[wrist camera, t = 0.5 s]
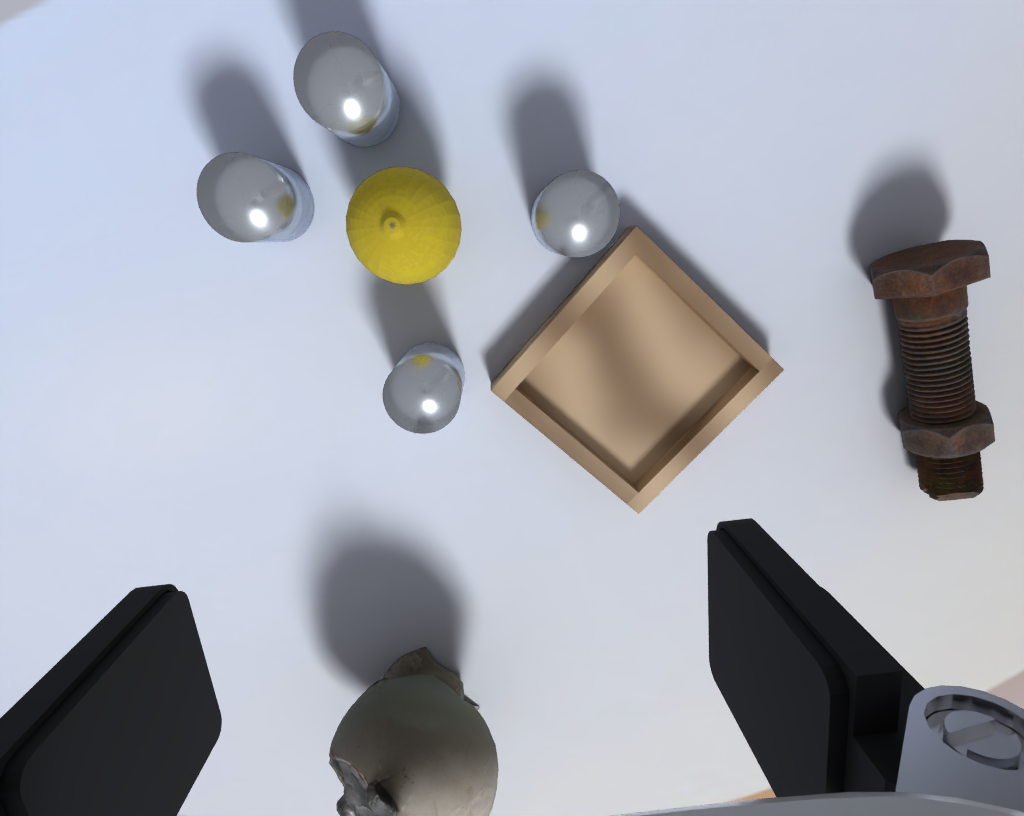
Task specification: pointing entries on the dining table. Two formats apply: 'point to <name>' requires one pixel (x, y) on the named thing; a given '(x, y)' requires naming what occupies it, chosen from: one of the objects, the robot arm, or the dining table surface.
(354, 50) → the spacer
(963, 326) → the bolt
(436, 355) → the cylinder
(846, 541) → the dining table surface
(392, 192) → the lemon
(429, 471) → the dining table surface
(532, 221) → the cylinder
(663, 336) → the tray
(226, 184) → the cylinder
